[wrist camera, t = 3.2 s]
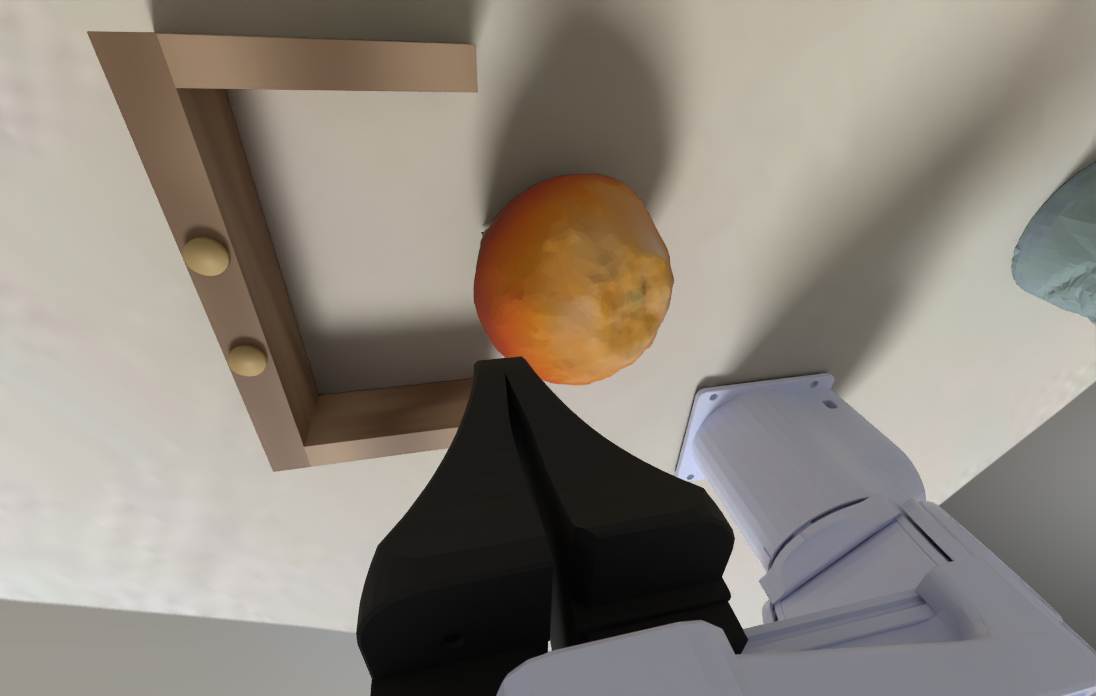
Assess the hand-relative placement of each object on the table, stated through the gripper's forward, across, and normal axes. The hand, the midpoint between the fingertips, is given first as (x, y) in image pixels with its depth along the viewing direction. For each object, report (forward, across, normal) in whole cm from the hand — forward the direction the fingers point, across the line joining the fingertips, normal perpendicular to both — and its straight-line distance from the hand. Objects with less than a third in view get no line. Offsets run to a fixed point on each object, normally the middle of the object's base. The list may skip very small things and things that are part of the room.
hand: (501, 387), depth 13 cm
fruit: (+10, -4, 0) cm, 10 cm away
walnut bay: (+9, +4, 0) cm, 10 cm away
